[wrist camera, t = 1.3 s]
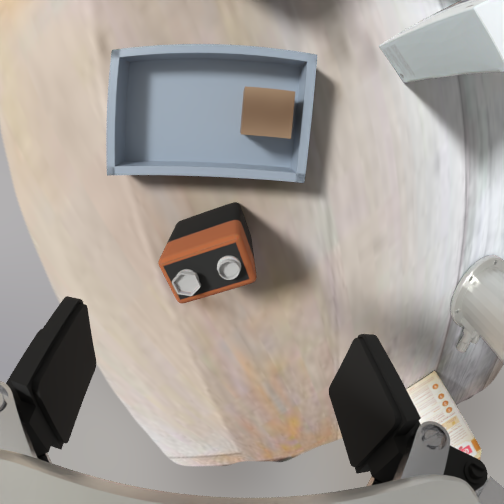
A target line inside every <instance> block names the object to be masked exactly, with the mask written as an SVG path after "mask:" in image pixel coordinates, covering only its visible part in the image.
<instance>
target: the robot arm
mask: <svg viewBox="0 0 504 504" xmlns="http://www.w3.org/2000/svg"><path fill="white" fill-rule="evenodd" d="M451 316H452V318H453V320H454V321H455V322H456V324H457V325H459V326H460V327H464V329H463V333H464V334H463V336H462V337H461V339H460V341H459V343H458V345H457V347H456V348H457V350H458V351H460V352H462V353H464V352H466V350H467V348H468V346H469V344H470V341H471V342H472V343H473V344H476V343H477V342H478V340H479V338H480V336H481V337H482V339H483V340H484V341H485V342H486V343H487V345H488V346H489V347H490V348H491V349H492V351H493V352H494V353H495V354H496V355H497V357H498V358H499V359H500V360H501V362H502V363H503V364H504V260H503V259H501V258H500V257H498V256H496V255H489V256H486V257H483V258H482V259H480V260H478V261H477V262H476V263H475V264H473V265H472V266H471V267H470V268H469V269H468V271H467V272H466V273H465V274H464V276H463V277H462V278H461V280H460V282H459V284H458V285H457V287H456V290H455V292H454V295H453V298H452V302H451ZM95 368H96V357H95V352H94V347H93V341H92V335H91V329H90V323H89V316H88V308H87V305H85V304H83V301H82V300H81V299H77V298H72V297H68V296H67V297H65V298H64V299H63V301H62V302H61V303H60V305H59V306H58V308H57V309H56V311H55V312H54V313H53V315H52V316H51V318H50V319H49V321H48V322H47V323H46V325H45V326H44V328H43V329H41V330H40V331H39V332H38V333H37V335H36V336H35V338H34V339H33V341H32V342H31V344H30V345H29V347H28V348H27V350H26V352H25V353H24V355H23V357H22V358H21V359H20V361H19V363H18V364H17V366H16V368H15V369H14V371H13V373H12V374H11V376H10V378H9V379H8V381H7V383H6V384H5V383H3V382H2V381H0V504H504V488H503V487H502V486H501V485H500V484H499V483H497V482H496V481H495V480H494V479H493V478H492V477H489V478H487V470H486V467H485V465H484V464H483V463H482V462H481V461H480V460H479V459H477V458H475V457H473V456H471V455H469V454H467V453H465V452H463V451H460V450H458V449H456V448H454V447H452V446H450V436H449V434H448V432H447V430H446V429H445V428H444V427H443V426H442V425H440V424H439V423H437V422H433V421H426V422H423V423H422V424H420V422H419V420H420V419H421V417H420V415H419V413H418V411H417V409H416V407H415V406H414V404H413V402H412V400H411V398H410V396H409V394H408V392H407V390H406V388H405V386H404V385H403V383H402V381H401V379H400V377H399V375H398V373H397V372H396V370H395V368H394V366H393V364H392V363H391V361H390V359H389V357H388V355H387V354H386V352H385V350H384V348H383V347H382V345H381V343H380V341H379V339H378V338H377V336H376V335H369V334H361V335H359V336H358V338H355V339H354V340H353V342H352V344H351V346H350V348H349V350H348V352H347V354H346V356H345V358H344V360H343V362H342V364H341V366H340V368H339V370H338V372H337V374H336V376H335V378H334V379H333V381H332V383H331V385H330V388H329V396H330V399H331V402H332V405H333V408H334V411H335V415H336V418H337V421H338V424H339V428H340V431H341V434H342V437H343V441H344V444H345V447H346V450H347V454H348V457H349V460H350V464H351V465H352V466H353V467H355V469H356V473H362V472H368V471H370V472H371V475H372V477H371V479H370V480H369V482H368V484H367V486H366V487H361V488H355V489H349V490H343V491H338V492H330V493H322V494H315V495H303V496H291V497H271V498H228V497H209V496H197V495H187V494H178V493H170V492H164V491H157V490H151V489H145V488H140V487H135V486H130V485H126V484H121V483H117V482H113V481H109V480H105V479H101V478H97V477H93V476H90V475H86V474H83V473H79V472H76V471H73V470H69V469H67V468H64V467H61V466H58V465H55V464H52V462H51V460H50V458H49V455H48V453H47V452H49V449H50V446H53V447H55V448H58V449H62V446H63V443H67V442H68V441H69V438H70V435H71V432H72V429H73V427H74V424H75V420H76V418H77V415H78V412H79V409H80V407H81V404H82V401H83V399H84V396H85V394H86V391H87V388H88V386H89V383H90V380H91V378H92V375H93V373H94V371H95Z"/></svg>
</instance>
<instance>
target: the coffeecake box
mask: <svg viewBox="0 0 504 504" xmlns="http://www.w3.org/2000/svg"><path fill="white" fill-rule="evenodd" d="M406 390H407V392H408V394H409V396H410V398H411V400H412V402H413V404H414V406H415V407H416V409H417V411H418V413H419V415H420V417H421V419H420V420H419V422H420V424H422V423H423V422H426V421H433V422H437V423H439V424H440V425H442V426H443V427H444V428H445V429H446V430H447V432H448V434H449V436H450V446H452V447H454V448H456V449H458V450H460V451H463V452H465V453H467V454H469V455H471V456H473V457H475V458H477V459H479V460H480V456H481V452H482V450H481V448H480V446H479V444H478V443H477V441H476V439H475V437H474V435H473V434H472V432H471V430H470V428H469V426H468V424H467V423H466V421H465V419H464V417H463V416H462V414H461V412H460V411H459V409H458V407H457V406H456V404H455V402H454V400H453V399H452V397H451V396H450V394H449V392H448V391H447V389H446V387H445V386H444V384H443V382H442V381H441V379H440V378H439V376H438V375H437V373H436V372H435V371H433V372H432V373H431V374H429V375H428V376H426V377H425V378H423V379H422V380H420V381H419V382H417V383H415V384H414V385H412V386H411V387H409V388H407V389H406Z"/></svg>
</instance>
